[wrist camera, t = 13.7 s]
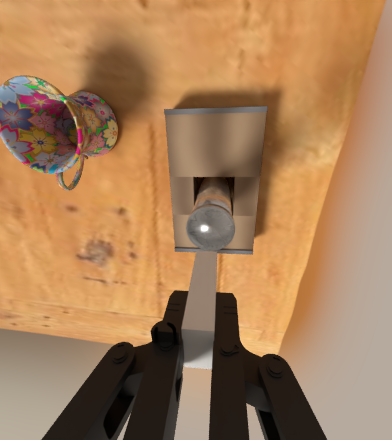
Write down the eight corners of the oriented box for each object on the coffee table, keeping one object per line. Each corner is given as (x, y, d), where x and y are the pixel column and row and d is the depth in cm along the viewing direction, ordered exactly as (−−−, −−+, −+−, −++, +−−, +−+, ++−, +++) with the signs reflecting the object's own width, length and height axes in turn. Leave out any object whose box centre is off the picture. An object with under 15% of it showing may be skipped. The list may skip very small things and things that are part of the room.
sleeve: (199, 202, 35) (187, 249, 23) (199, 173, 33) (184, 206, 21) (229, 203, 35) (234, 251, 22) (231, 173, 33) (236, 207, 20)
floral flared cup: (54, 88, 31) (-22, 74, 21) (119, 89, 30) (70, 75, 20) (72, 173, 36) (17, 194, 26) (128, 177, 35) (92, 199, 25)
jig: (179, 238, 39) (174, 251, 35) (171, 110, 30) (164, 109, 26) (249, 240, 37) (252, 254, 33) (261, 107, 29) (267, 106, 25)
